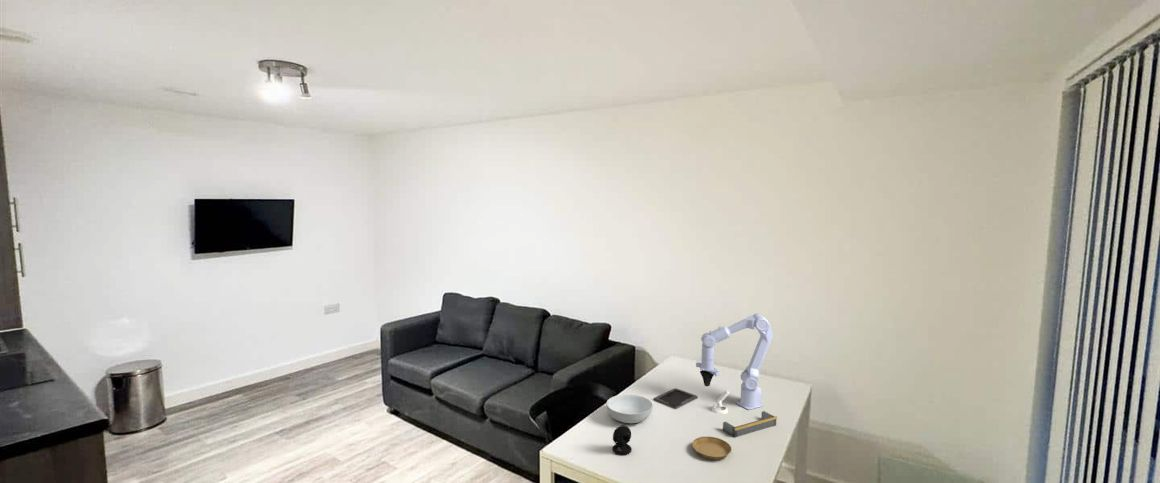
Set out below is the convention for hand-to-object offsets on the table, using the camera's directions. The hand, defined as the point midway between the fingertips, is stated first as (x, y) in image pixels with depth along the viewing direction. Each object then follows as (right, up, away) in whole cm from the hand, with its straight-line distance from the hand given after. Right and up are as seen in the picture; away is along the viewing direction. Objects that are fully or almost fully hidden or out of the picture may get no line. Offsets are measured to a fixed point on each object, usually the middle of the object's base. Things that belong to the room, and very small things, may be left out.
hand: (707, 385), depth 223 cm
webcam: (-45, -13, -42) cm, 63 cm away
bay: (+12, -11, -24) cm, 29 cm away
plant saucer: (-10, -13, -43) cm, 46 cm away
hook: (+4, -10, -7) cm, 13 cm away
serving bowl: (-39, -10, -15) cm, 43 cm away
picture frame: (-14, -9, +5) cm, 17 cm away
